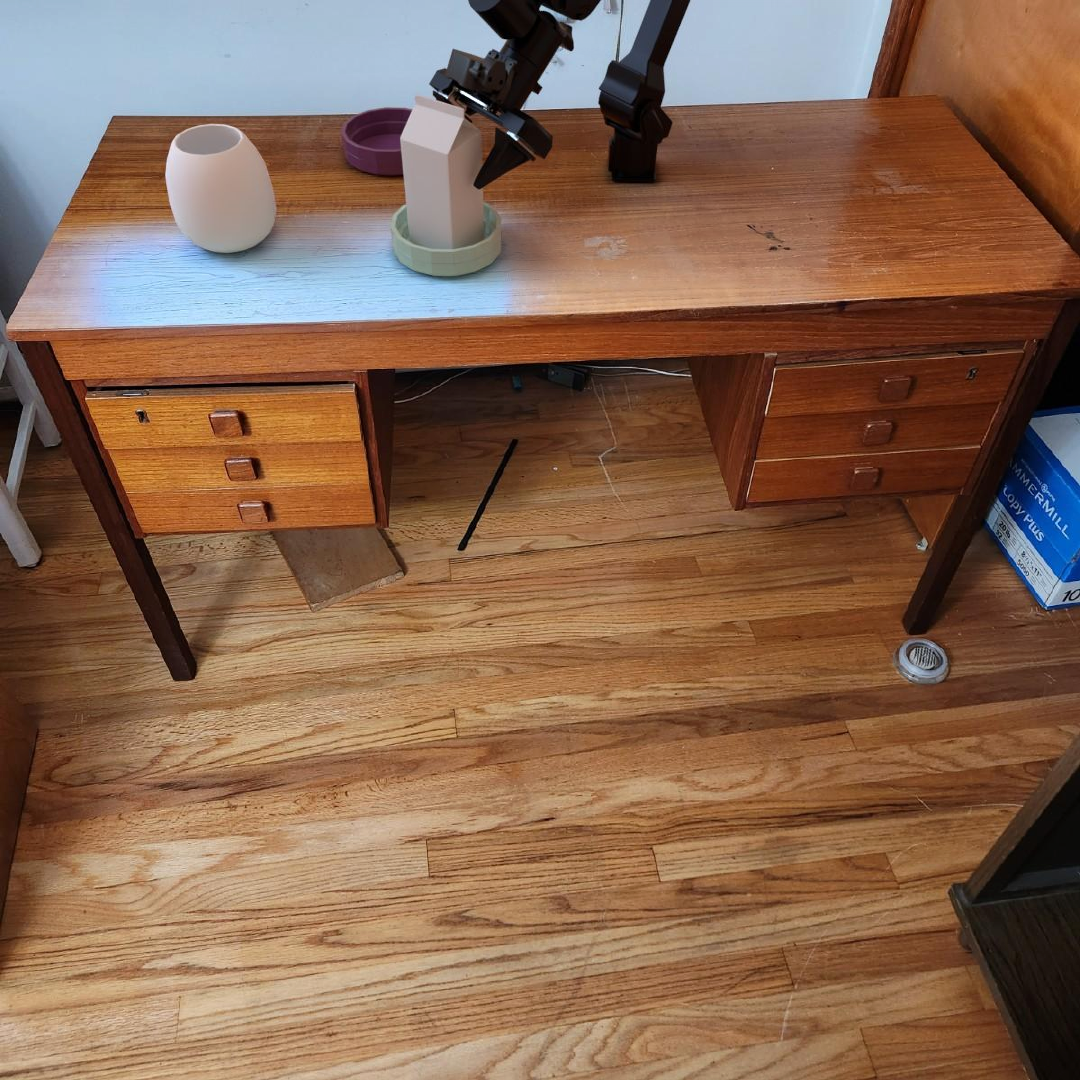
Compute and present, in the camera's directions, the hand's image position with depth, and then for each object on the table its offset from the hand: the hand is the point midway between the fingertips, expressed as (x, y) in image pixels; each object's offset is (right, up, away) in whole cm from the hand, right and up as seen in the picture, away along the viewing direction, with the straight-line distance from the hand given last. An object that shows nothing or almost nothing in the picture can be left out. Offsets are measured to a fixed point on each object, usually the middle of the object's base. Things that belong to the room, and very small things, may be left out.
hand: (453, 173), depth 121 cm
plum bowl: (-11, +12, +24) cm, 29 cm away
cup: (-30, -6, +8) cm, 32 cm away
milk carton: (-1, -7, +7) cm, 10 cm away
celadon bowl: (-1, -7, +7) cm, 10 cm away
